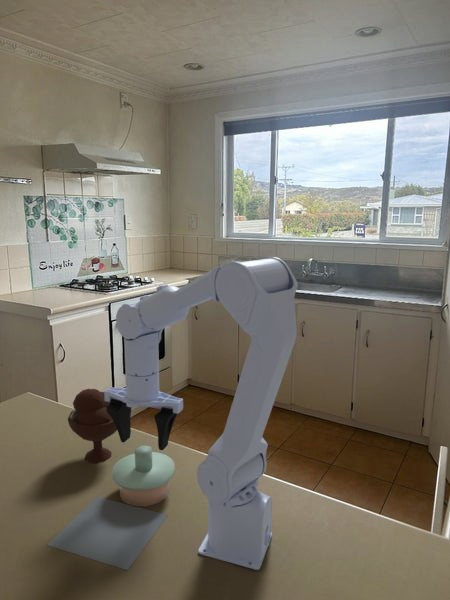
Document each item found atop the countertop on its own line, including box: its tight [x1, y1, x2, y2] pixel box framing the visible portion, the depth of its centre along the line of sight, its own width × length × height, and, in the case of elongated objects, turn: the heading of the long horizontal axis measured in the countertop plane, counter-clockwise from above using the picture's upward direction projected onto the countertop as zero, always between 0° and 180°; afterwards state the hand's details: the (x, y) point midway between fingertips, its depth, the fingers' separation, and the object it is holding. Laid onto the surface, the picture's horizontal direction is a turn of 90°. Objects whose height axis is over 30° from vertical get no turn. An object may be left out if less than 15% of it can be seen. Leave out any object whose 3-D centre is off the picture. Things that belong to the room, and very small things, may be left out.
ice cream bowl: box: [67, 388, 118, 464], centre depth 92 cm, size 11×11×15 cm
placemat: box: [46, 496, 169, 571], centre depth 72 cm, size 14×13×1 cm
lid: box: [111, 445, 176, 490], centre depth 80 cm, size 11×11×4 cm
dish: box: [119, 479, 171, 507], centre depth 81 cm, size 9×9×4 cm
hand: (144, 443), depth 80 cm, fingers open, 7 cm apart
